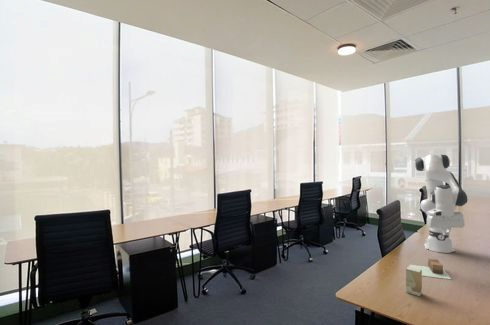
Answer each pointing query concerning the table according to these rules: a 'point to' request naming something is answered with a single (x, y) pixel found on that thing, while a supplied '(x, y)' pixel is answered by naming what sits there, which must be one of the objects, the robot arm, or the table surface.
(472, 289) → the table surface
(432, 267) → the block
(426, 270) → the mat
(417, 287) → the skincare box
